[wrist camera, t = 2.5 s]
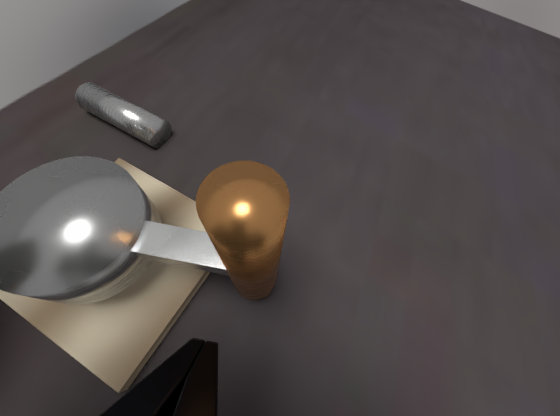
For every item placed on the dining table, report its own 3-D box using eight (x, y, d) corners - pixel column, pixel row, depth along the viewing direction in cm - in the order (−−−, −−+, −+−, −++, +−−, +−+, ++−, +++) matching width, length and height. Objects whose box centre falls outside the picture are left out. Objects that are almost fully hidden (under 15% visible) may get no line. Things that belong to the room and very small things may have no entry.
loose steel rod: (175, 126, 23) (158, 115, 20) (162, 151, 23) (144, 142, 21) (107, 91, 24) (83, 77, 22) (95, 114, 24) (70, 102, 22)
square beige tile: (239, 231, 19) (235, 213, 17) (127, 389, 15) (96, 400, 12) (125, 165, 21) (105, 140, 19) (-5, 286, 17) (-56, 275, 14)
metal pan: (27, 296, 15) (-310, 229, 6) (89, 193, 18) (-75, 51, 9) (263, 344, 15) (262, 347, 6) (285, 229, 18) (306, 116, 9)
